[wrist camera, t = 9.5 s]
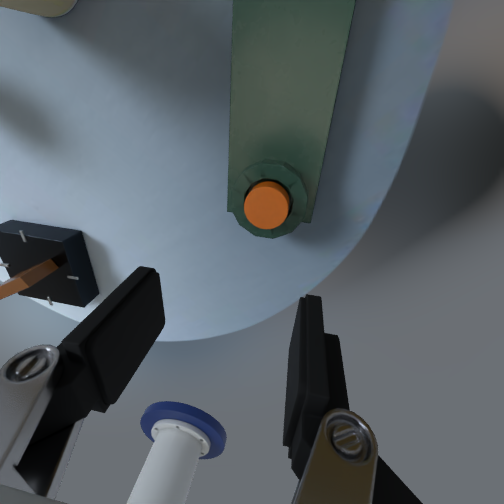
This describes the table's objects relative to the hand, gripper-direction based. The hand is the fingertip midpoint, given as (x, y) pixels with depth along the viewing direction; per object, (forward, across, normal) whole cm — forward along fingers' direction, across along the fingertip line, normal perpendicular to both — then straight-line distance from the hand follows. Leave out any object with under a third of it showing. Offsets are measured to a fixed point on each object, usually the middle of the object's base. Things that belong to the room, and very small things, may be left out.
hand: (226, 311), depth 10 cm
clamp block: (+18, +28, +13) cm, 35 cm away
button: (+14, 0, 0) cm, 14 cm away
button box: (+18, 0, -7) cm, 19 cm away
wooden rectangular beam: (+14, +28, +13) cm, 34 cm away
